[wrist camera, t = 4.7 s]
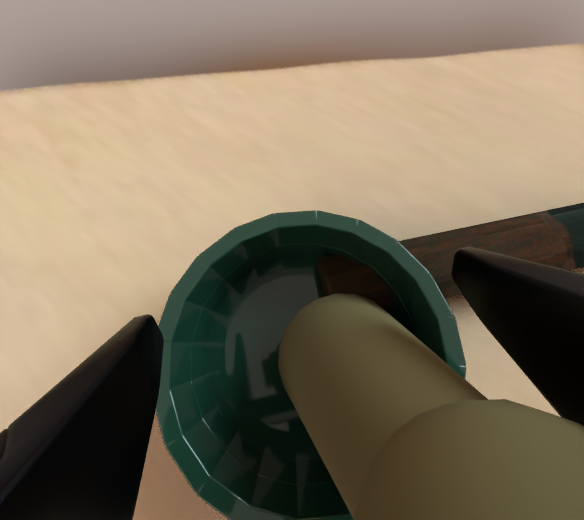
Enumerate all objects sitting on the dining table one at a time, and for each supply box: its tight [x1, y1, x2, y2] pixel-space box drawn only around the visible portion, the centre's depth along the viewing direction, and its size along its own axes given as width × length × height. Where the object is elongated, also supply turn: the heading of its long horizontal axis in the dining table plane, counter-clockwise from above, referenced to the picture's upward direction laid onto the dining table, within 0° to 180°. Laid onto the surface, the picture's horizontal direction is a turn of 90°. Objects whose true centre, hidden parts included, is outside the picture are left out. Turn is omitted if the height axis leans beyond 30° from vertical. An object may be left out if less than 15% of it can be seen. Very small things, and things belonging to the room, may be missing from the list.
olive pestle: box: [278, 293, 584, 520], centre depth 8 cm, size 6×6×11 cm
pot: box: [155, 211, 466, 520], centre depth 13 cm, size 11×11×5 cm
